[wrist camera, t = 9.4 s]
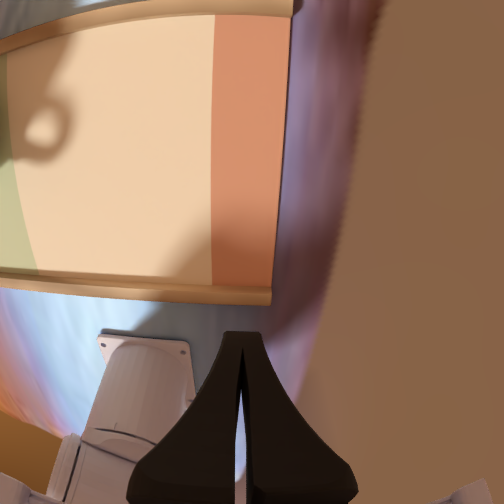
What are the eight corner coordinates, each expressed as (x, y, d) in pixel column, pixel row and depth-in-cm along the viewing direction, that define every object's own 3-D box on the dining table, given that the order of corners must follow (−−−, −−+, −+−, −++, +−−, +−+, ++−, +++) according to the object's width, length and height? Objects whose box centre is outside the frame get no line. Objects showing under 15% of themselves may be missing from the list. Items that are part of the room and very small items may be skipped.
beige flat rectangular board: (269, 296, 23) (270, 305, 22) (-55, 272, 22) (-60, 278, 21) (290, 3, 14) (293, -2, 13) (-91, 92, 12) (-98, 94, 11)
